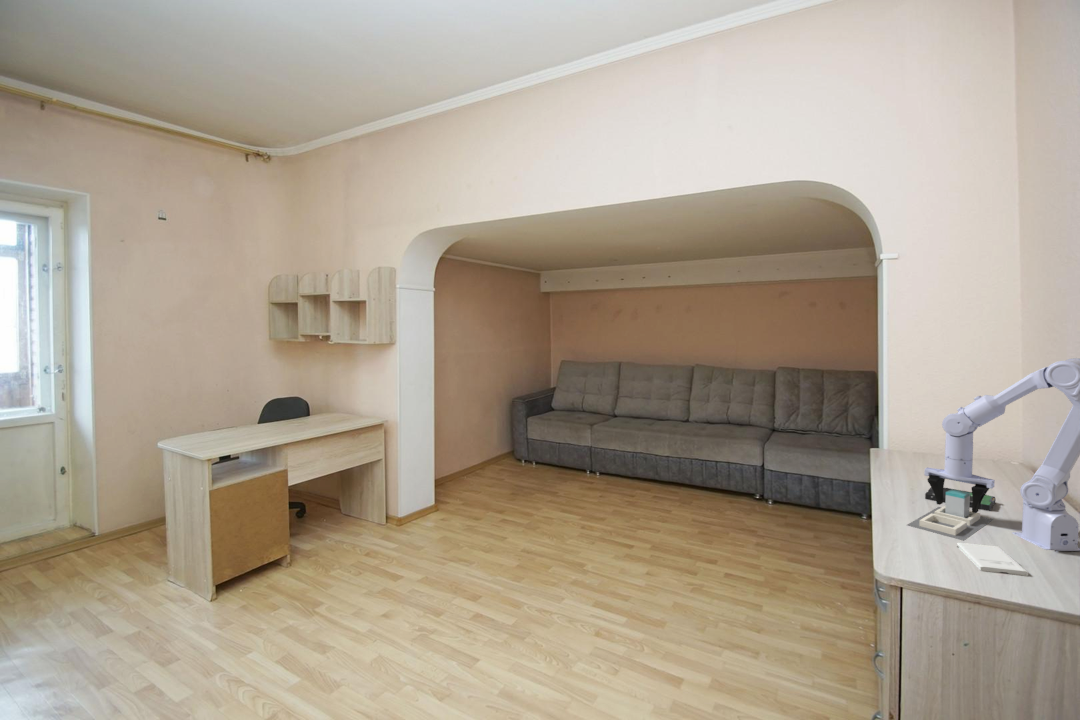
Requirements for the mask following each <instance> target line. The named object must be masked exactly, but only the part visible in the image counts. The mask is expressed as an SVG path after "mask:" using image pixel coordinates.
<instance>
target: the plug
mask: <svg viewBox="0 0 1080 720" xmlns="http://www.w3.org/2000/svg"><path fill="white" fill-rule="evenodd" d="M959 490H960V489H956V490H955V488H950V490H948V491H947V492H946V501H945V503H944V504H945V505H944V506H945V513H946V514H951V515H955V516H959V517H963V518H969V511H970V493H969V492H970V491H967V492H964V491H965V490H961V491H959Z"/></svg>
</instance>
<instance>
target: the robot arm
mask: <svg viewBox="0 0 1080 720" xmlns="http://www.w3.org/2000/svg"><path fill="white" fill-rule="evenodd" d="M1050 388H1056V389H1057V390H1058V391H1060V392H1061V393H1063V394H1064V395H1065V396H1066V398H1067V400H1068V401H1070V403H1071V404H1072V406H1071V407H1070V408H1071V409H1070V410H1069V412H1068V414H1067V416H1066V418H1065V420H1064V421H1063V423H1062V425H1061V427H1060V429H1059V430H1058V433H1057V435H1056V437H1055V439H1054V441H1053V442H1052V445H1051V446H1050V448H1049V450H1048V452H1047V454H1046V455H1045V458H1044V460H1043V461H1042V464H1040V466H1039V467H1038V469H1037V470H1036V471H1035V473H1034V474H1033V476H1032V477H1031V478H1030V479H1029V480H1028V481H1026V482H1024V483H1023V484H1022V485H1021V487H1020V492H1019V493H1020V496H1021V497H1022V519H1021V520H1022V521H1021V523H1022V524H1021V531H1019V532H1017V531H1013V532H1011V534H1012V535H1014V536H1016V537H1018V538H1021V539H1023V540H1024V541H1027V542H1029V543H1030V544H1032V545H1035V546H1036V547H1038V548H1040V549H1042V550H1046V551H1048V550H1049V551H1054V550H1055V552H1059V551H1060V552H1070V551H1071V552H1073V551H1075V552H1080V547H1079V522H1078V520H1077V519H1076V518H1075V517H1074V516H1072V515H1071V514H1069V513H1068V512H1067V511H1068V510H1067V509H1066V504H1065V503H1064V501H1063V500H1062V499H1064V498H1066V497H1067V496H1068V493H1069V486H1068V483H1069V480H1070V478H1071V472H1072V470H1073V468H1074V466H1075V465H1076V463H1077V461H1078V459H1079V457H1080V358H1077V357H1076V358H1069V359H1066V360H1057V361H1055V362H1054V363H1051V364H1049V365H1048V366H1045V367H1042V368H1039V369H1038V370H1035V371H1033V372H1031V373H1029V374H1028V375H1026V376H1025V377H1023V378H1021V379H1020V380H1018V381H1016V382H1014V383H1013V384H1011V385H1010V386H1008V387H1007V388H1005V389H1003V390H1002V391H1001V392H999V393H996V394H995V395H990V394H984V395H977V396H975V397H974V398H973V400H974V401H972V402H971V403H969V404H967V405H965V406H964V407H963V406H960V407H958V408H957V409H956V411H957V412H955V413H948V414H947V415H946V416H945V417H944V418H943V419H942V421H941V422H942V423H941V426H942V428H943V430H944V431H945V439H944V441H945V446H944V447H945V449H944V469H943V468H941V469H940V468H935V467H925V468H924V472H923V473H924V476H926V477H928V478H927V479H926V480H927V483H928V484H929V486H930V488H931V487H932V489H933V492H934V494H935V497H936V501H935V502H936V505H939V506H940V505H942V504H943V503H944V502H943V487H944V488H945V480H948V481H949V480H950V481H955V482H959V483H960V482H961V483H966V484H970V485H973V486H971V492H972V497H973V503H972V508H971V511H972V512H973V513H979V510H980V509H979V506H980V503H981V501H982V499H983V497H984V496H985V495H987V492H988V491H989V490H990V489H991V490H992V489H993V488H995V479H992V478H987V477H983V476H981V475H976V474H973V463H974V462H973V460H974V459H973V458H974V457H973V456H974V432H975V431H976V430H977V429H978V428H979V427H982V426H984V425H986V424H988V423H990V422H991V421H993V420H995V419H997V418H998V417H1000V416H1002V415H1004V414H1005V413H1006V407H1007V406H1008V405H1010V404H1013V402H1016V401H1017V400H1019V399H1022V398H1023V397H1026V396H1028V395H1029V394H1032V393H1033V392H1035V391H1037V390H1038V389H1039V390H1041V389H1050Z"/></svg>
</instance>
